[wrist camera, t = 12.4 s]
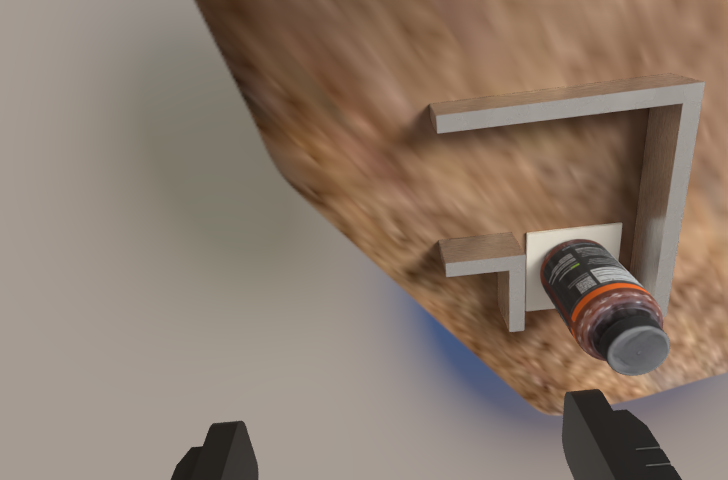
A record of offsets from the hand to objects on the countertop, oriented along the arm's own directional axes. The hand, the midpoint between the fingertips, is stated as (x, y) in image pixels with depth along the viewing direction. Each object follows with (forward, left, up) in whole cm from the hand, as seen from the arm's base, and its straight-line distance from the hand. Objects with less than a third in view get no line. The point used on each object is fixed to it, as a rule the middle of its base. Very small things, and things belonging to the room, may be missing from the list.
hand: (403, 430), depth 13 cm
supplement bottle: (+13, +15, -28) cm, 34 cm away
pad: (+13, +15, -28) cm, 34 cm away
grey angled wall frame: (+7, +12, -28) cm, 31 cm away
